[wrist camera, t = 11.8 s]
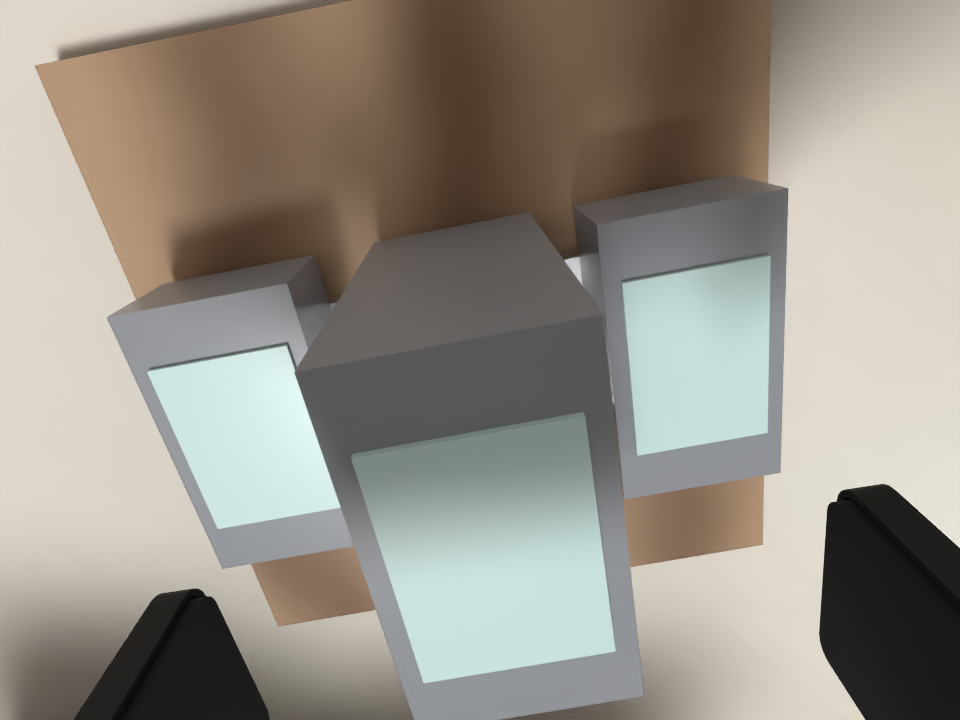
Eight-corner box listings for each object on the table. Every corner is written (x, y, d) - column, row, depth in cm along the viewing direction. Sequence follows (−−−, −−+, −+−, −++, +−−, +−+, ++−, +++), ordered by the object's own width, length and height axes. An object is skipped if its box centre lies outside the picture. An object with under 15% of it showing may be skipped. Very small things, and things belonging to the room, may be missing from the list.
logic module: (529, 212, 17) (604, 317, 8) (564, 450, 20) (646, 702, 11) (373, 242, 17) (291, 376, 8) (434, 473, 20) (418, 739, 11)
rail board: (752, -75, 15) (866, -146, 11) (750, 527, 23) (816, 621, 19) (58, 67, 16) (-85, 52, 12) (285, 606, 24) (248, 714, 20)
